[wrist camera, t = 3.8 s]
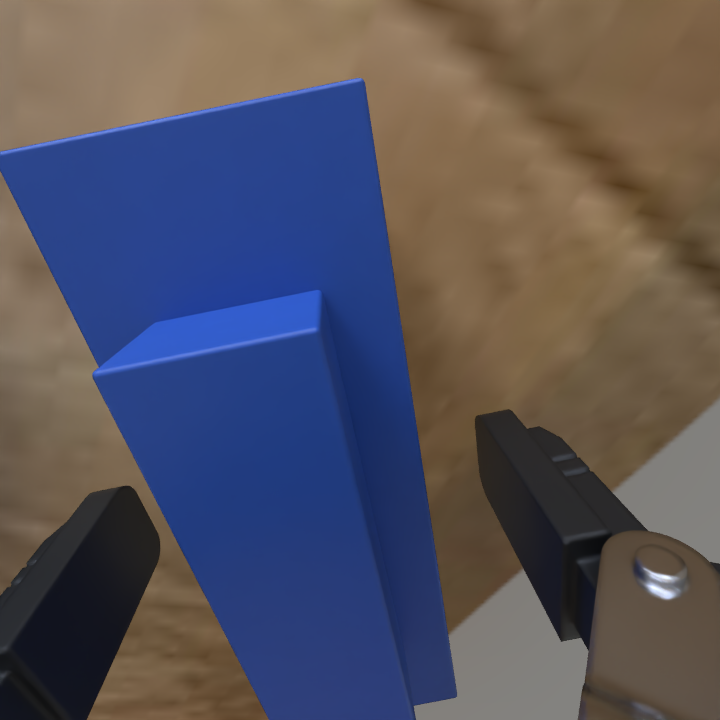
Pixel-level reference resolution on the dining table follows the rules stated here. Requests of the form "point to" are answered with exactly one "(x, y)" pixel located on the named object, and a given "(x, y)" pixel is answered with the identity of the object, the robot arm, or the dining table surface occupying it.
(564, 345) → the dining table surface
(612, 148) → the dining table surface
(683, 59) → the dining table surface
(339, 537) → the brush
